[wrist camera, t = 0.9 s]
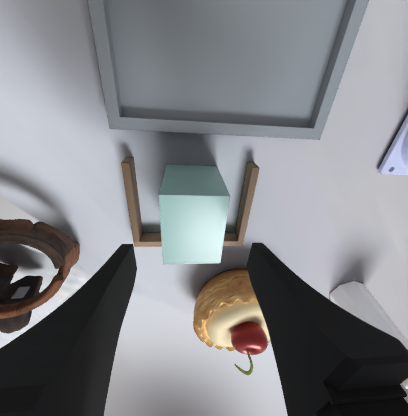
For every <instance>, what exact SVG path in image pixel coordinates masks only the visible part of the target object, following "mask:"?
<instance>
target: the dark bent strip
mask: <svg viewBox="0 0 408 416" xmlns="http://www.w3.org/2000/svg"><path fill="white" fill-rule="evenodd" d="M121 165H122V171H123V178H124V184H125V190H126V197H127V203H128V210H129V216H130V222H131V229H132V235H133V242H134V247H151V246H162V240H161V233H143V232H142V223H141V215H140V207H139V199H138V191H137V182H136V174H135V166H134V158H125V159H124V161H123V162H122V163H121ZM258 173H259V167H258V166H257V165H256V164H255V163H254V162H248V163H247V168H246V174H245V179H244V185H243V190H242V196H241V201H240V207H239V212H238V218H237V223H236V229H235V233H225V235H224V241H223V246H243V242H244V237H245V233H246V228H247V223H248V219H249V214H250V209H251V205H252V200H253V196H254V191H255V186H256V182H257V177H258Z"/></svg>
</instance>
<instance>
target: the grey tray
mask: <svg viewBox="0 0 408 416" xmlns="http://www.w3.org/2000/svg"><path fill="white" fill-rule="evenodd" d="M368 2H369V0H88V6H89V12H90V18H91V24H92V29H93V35H94V41H95V47H96V53H97V58H98V64H99V70H100V76H101V82H102V88H103V93H104V99H105V105H106V111H107V117H108V123H109V128H110V129H123V130H142V131H161V132H180V133H199V134H218V135H237V136H256V137H275V138H294V139H313V140H320V138H321V135H322V132H323V129H324V126H325V124H326V121H327V118H328V115H329V112H330V109H331V107H332V104H333V101H334V98H335V95H336V93H337V90H338V87H339V84H340V81H341V78H342V76H343V73H344V70H345V67H346V64H347V61H348V59H349V56H350V53H351V50H352V47H353V44H354V42H355V39H356V36H357V33H358V30H359V27H360V25H361V22H362V19H363V16H364V13H365V10H366V8H367V5H368Z"/></svg>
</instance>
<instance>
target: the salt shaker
mask: <svg viewBox="0 0 408 416" xmlns="http://www.w3.org/2000/svg"><path fill="white" fill-rule="evenodd" d="M330 301H332V302H333V303H335V304H336V305H338V306H339V307H341V308H343V309H344V310H346V311H348V312H349V313H351V314H352V315H354V316H356V317H358V318H359V319H361V320H363V321H365V322H366V323H368V324H370V325H372V326H374V327H376V328H378V329H380V330H382V331H384V332H386V333H387V334H389V335H391V336H393V337H395V338H397V339H399V340H400V342H401V343H402V344H403V345H404V346H405V347H406V349H407V350H408V340H407V339H406V338H405V336H404V335H403V334H402V333H401V331H400V330H399V329H398V327H397V326H396V325H395V323H394V322H393V321H392V320H391V318H390V317H389V316H388V314H387V313H386V312H385V311H384V309H383V308H382V307H381V305H380V304H379V303H378V301H377V300H376V299H375V298H374V296H373V295H372V294H371V292H370V291H369V290H368V289H367V287H366V286H365V285H364V284H362V283H358V282H355V281H352V282H348V283H345V284H341V285H339V286H338V287H337V288H336V289H334V290H333V291H332V292H331V293H330ZM402 383H403V385H404V386H405V388H406V389H408V379H406V380H405V381H403V382H402Z"/></svg>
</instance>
